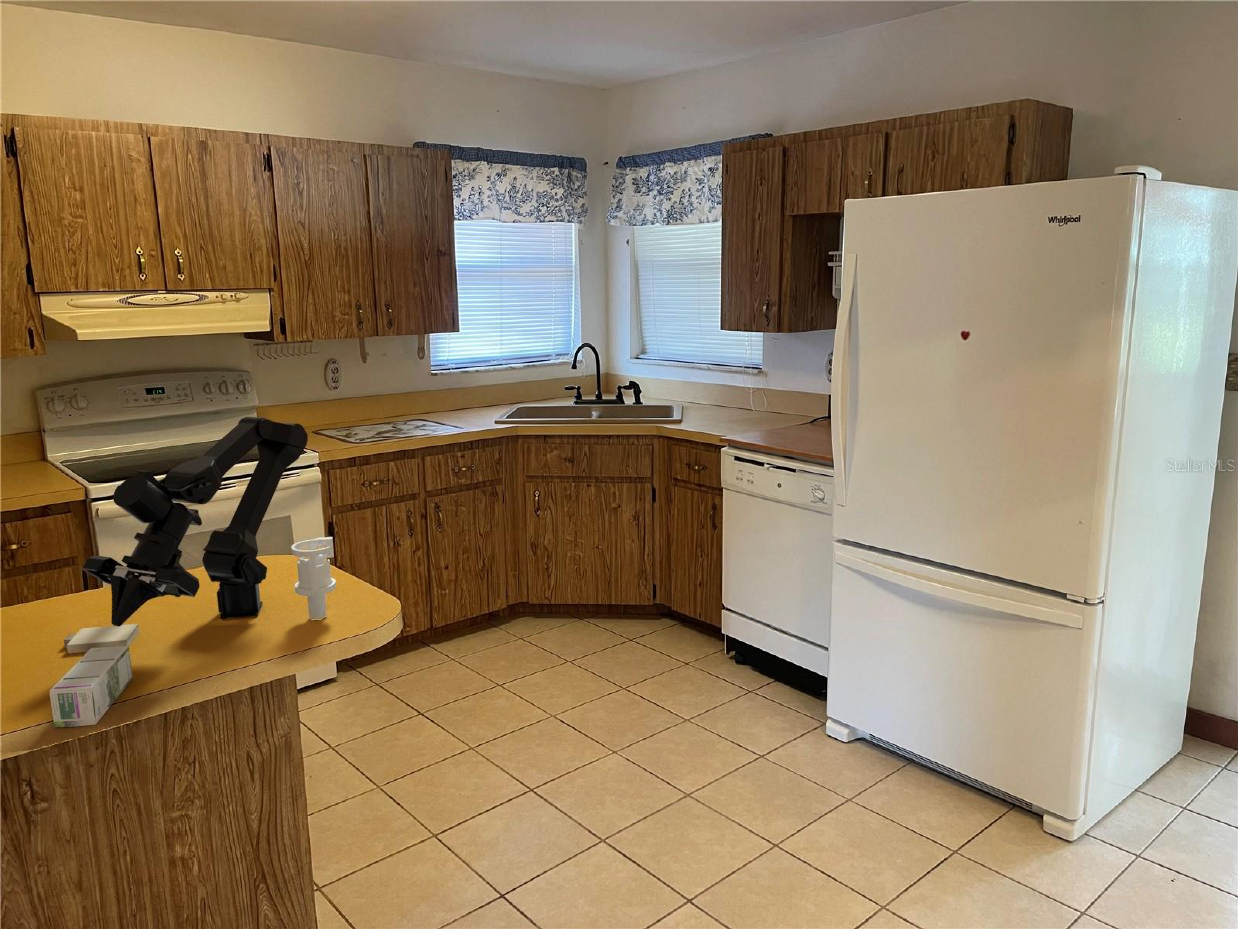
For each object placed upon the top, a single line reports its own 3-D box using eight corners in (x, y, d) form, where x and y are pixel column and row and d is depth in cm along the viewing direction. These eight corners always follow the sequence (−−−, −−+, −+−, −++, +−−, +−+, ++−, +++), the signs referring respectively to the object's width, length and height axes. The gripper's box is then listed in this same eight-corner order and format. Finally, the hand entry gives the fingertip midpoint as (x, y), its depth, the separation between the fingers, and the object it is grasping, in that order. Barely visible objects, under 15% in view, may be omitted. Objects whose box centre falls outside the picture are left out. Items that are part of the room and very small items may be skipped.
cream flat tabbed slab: (139, 631, 157) (138, 623, 156) (127, 648, 150) (126, 639, 150) (74, 637, 154) (73, 629, 154) (59, 654, 148) (58, 645, 147)
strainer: (338, 622, 161) (332, 543, 157) (296, 627, 159) (289, 546, 155) (338, 608, 167) (332, 531, 164) (298, 612, 165) (291, 535, 162)
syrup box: (89, 647, 137) (45, 691, 123) (130, 644, 138) (91, 688, 124) (94, 681, 138) (50, 729, 124) (135, 678, 139) (96, 726, 125)
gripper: (237, 564, 150) (195, 652, 143) (149, 552, 156) (104, 636, 148) (197, 533, 141) (149, 626, 133) (105, 522, 147) (55, 610, 139)
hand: (115, 625), depth 139 cm, fingers closed
